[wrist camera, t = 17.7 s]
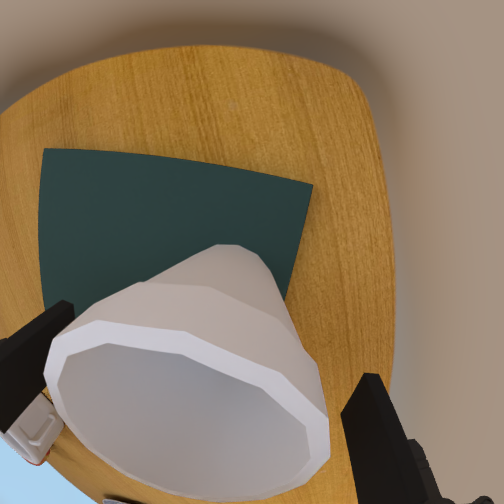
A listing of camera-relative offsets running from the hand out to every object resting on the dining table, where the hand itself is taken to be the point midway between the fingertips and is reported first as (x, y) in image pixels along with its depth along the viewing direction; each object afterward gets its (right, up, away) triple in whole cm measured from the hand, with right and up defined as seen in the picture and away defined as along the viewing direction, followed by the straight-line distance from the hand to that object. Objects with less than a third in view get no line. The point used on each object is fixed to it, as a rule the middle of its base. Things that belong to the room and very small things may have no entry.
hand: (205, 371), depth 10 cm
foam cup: (0, +2, +9) cm, 9 cm away
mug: (-31, -19, +18) cm, 40 cm away
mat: (-7, +4, +9) cm, 12 cm away
